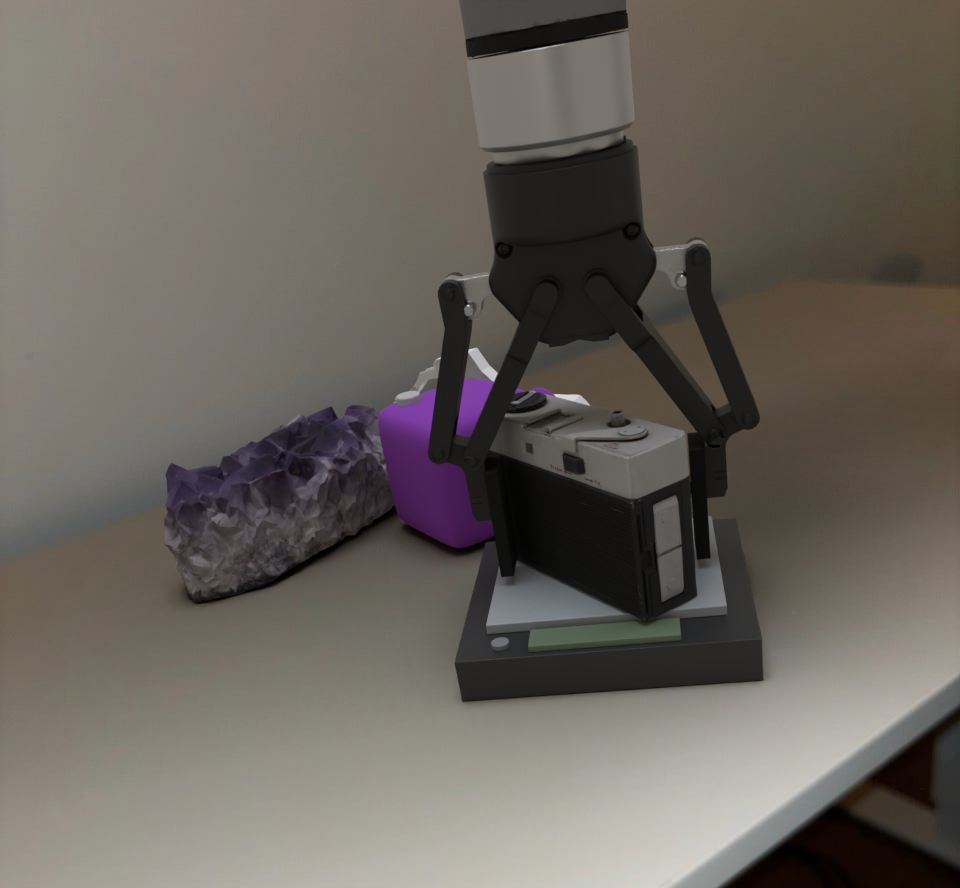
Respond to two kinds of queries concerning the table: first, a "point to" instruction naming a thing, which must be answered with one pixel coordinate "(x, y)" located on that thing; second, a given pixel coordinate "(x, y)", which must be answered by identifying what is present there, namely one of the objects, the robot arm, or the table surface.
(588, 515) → the camera
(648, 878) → the table surface
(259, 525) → the geode
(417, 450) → the toy camera
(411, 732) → the table surface
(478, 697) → the scale
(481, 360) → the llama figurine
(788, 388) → the table surface
